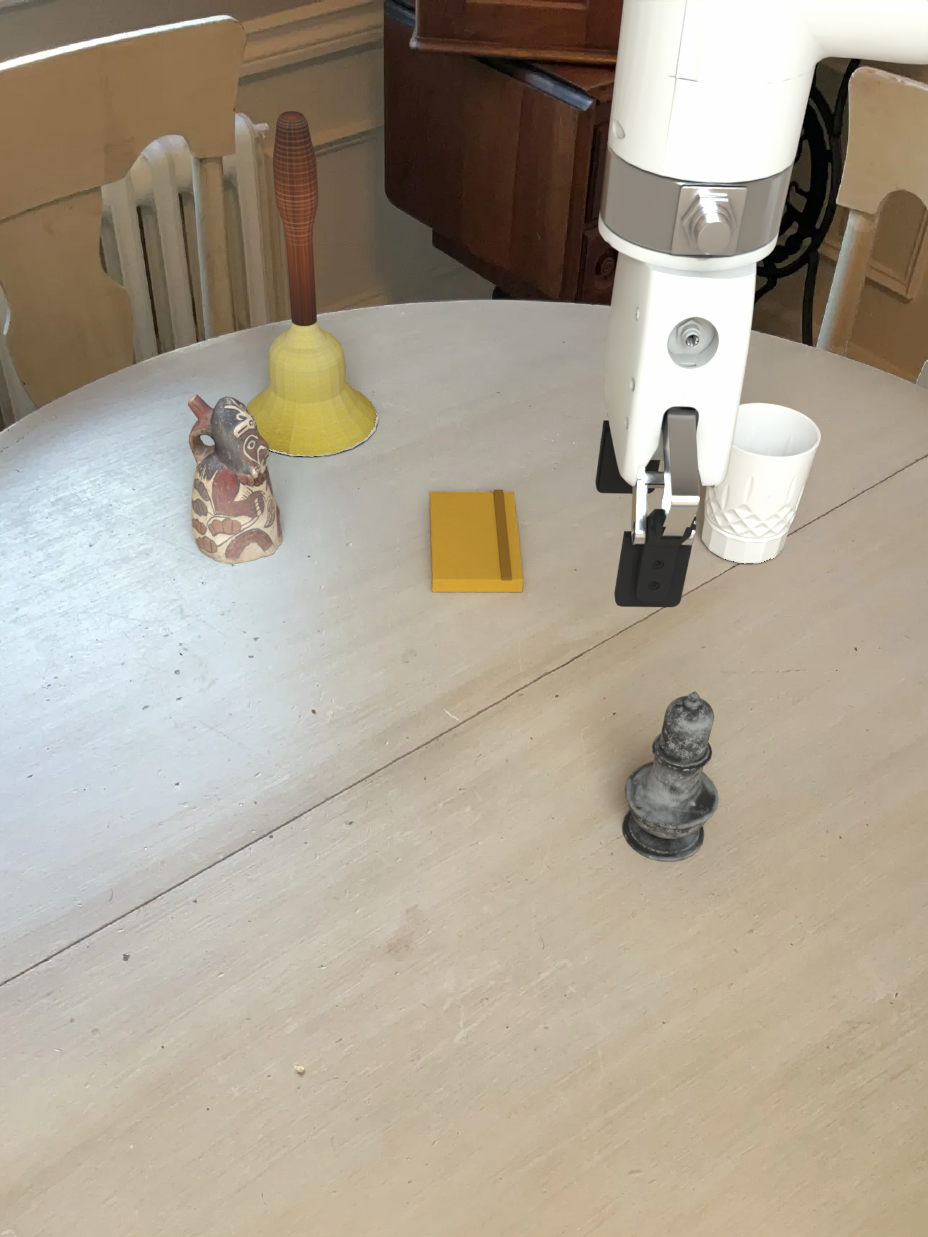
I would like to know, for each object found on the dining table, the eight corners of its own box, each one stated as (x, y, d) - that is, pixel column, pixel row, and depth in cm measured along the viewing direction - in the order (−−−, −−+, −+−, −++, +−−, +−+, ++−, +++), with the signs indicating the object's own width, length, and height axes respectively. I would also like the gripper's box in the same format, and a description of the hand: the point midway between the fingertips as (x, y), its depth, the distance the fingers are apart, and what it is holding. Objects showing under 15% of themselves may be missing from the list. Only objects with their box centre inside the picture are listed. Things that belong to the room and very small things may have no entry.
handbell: (393, 395, 117) (392, 96, 98) (357, 466, 109) (347, 155, 90) (266, 377, 118) (240, 78, 99) (222, 445, 110) (184, 136, 92)
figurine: (260, 572, 99) (246, 433, 90) (178, 552, 100) (156, 413, 91) (296, 522, 103) (286, 385, 94) (217, 504, 105) (200, 367, 96)
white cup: (721, 501, 107) (745, 391, 99) (806, 535, 104) (837, 424, 96) (676, 545, 102) (698, 434, 95) (764, 581, 100) (793, 469, 92)
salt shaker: (609, 801, 83) (634, 661, 74) (696, 795, 84) (731, 656, 75) (627, 868, 80) (656, 729, 71) (718, 862, 80) (758, 723, 71)
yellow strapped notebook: (429, 503, 106) (429, 488, 104) (512, 504, 106) (513, 489, 105) (432, 592, 98) (432, 577, 97) (522, 592, 98) (523, 577, 97)
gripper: (827, 294, 47) (734, 654, 59) (746, 120, 58) (683, 454, 71) (625, 290, 46) (576, 652, 59) (583, 116, 58) (550, 452, 71)
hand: (634, 544), depth 65 cm, fingers open, 9 cm apart
